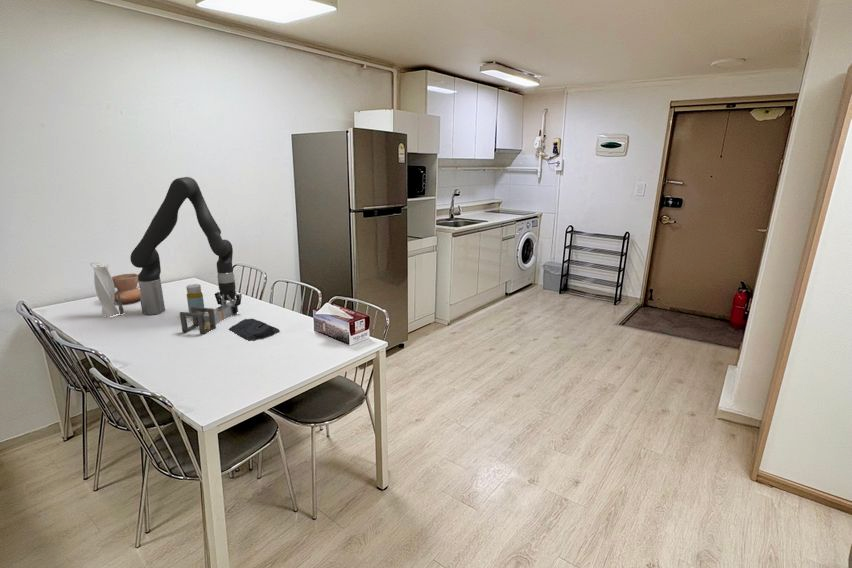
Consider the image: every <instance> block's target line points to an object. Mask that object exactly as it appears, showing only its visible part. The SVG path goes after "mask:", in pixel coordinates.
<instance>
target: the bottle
mask: <svg viewBox="0 0 852 568" xmlns="http://www.w3.org/2000/svg"><path fill="white" fill-rule="evenodd" d="M186 301H187V306H188V307H187V308H188V312H190V313H191V307H201V308H205V303H204V302H205V301H204V295H203V292H202V287H201V284H198V283H194V284H193V283H192V284H188V285H186ZM197 313H200V314H205V313H206V312H201V311H197Z"/></svg>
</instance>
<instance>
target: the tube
mask: <svg viewBox="0 0 852 568" xmlns="http://www.w3.org/2000/svg"><path fill="white" fill-rule="evenodd" d="M232 307H233V306H232V304H231V303H230V301H228V302H226V304H224V305H222V306H221V305H220V306H218V307H216V308H213V309H214V316H215V323H216V325H217V323H218V324H220V323H221V322H223V321H225V320H227V319H228V317H229V318H230V317H232V316H233V308H232ZM238 307H239V305H238V306H237V310H238V311H237V312H238V313H239V308H238ZM231 315H232V316H231ZM203 317H204V324H205V323H210V321H209V313H208V312H205V313H204V314H203ZM226 318H227V319H226ZM224 319H225V320H224ZM222 320H223V321H222ZM220 321H221V322H220Z"/></svg>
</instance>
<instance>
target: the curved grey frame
mask: <svg viewBox="0 0 852 568" xmlns="http://www.w3.org/2000/svg"><path fill="white" fill-rule="evenodd" d="M214 309H215V308H211V307H209V308H208V307H204V308H201V307H191V313H190V312H189V311H187V312H186V311H180V312H179V317H180V325H181V331H182V333H183V332H184V333H183V334H186V333H189V332H191V331H192V330H195V329H197V328H198V330H199V335H202V334H204V335H206V334H208V333H210V332H212V331H213V330H216V329H217V324H216V323H215V316H214ZM197 311H201V312H205V313H209V321H210V323H205V324H204V317H203V314H200V313H197ZM187 317H188V318H189V317H190V318H191V319H192V325H190V326H188V322H187V321H188V320H187ZM198 326H199V327H198ZM196 327H197V328H196ZM211 330H212V331H211ZM209 331H210V332H209ZM207 332H208V333H207Z"/></svg>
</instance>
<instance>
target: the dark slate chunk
mask: <svg viewBox="0 0 852 568" xmlns="http://www.w3.org/2000/svg"><path fill="white" fill-rule="evenodd" d="M228 330H229V331H230V332H231V331H232V332H231V333H233V332H234V333H233V334H235V335H236V334H237V335H236V336H239V337H240V338H242V339H244V340H246V341H247V340H248V341H247V342H250V341H253V342H255V341H257V340H258V341H259V340H261V339H265V338H268V337H272V336H273V335H276V334H277V333H280V329H279V328H277V327H275V326H272V325H269V324H267V323H266V322H264V321H262V320H258V319H255V318H244V319H242V320H240V321H238V322H237V323H235V324H234V325H232V326H230V327H229V328H228Z"/></svg>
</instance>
